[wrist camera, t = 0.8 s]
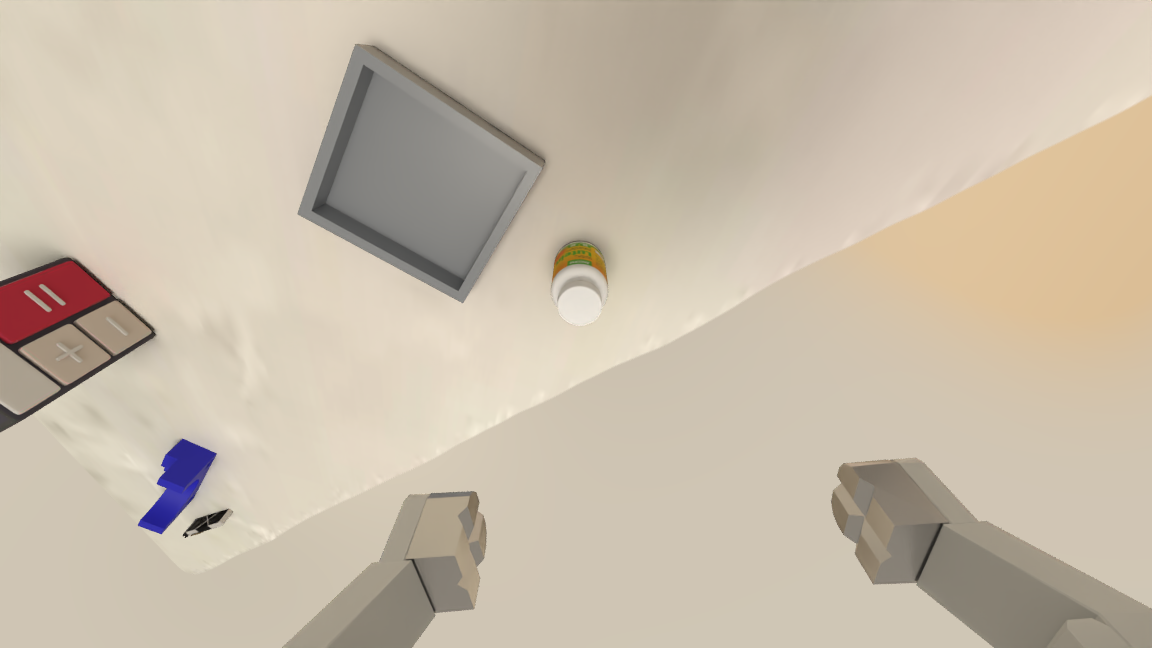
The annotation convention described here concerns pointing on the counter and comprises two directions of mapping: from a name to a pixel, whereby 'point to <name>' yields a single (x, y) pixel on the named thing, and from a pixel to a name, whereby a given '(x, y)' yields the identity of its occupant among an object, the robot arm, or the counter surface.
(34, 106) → the counter surface
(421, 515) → the robot arm
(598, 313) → the supplement bottle
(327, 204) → the parts tray
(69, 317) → the calculator
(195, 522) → the graphics card
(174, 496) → the cable clip
